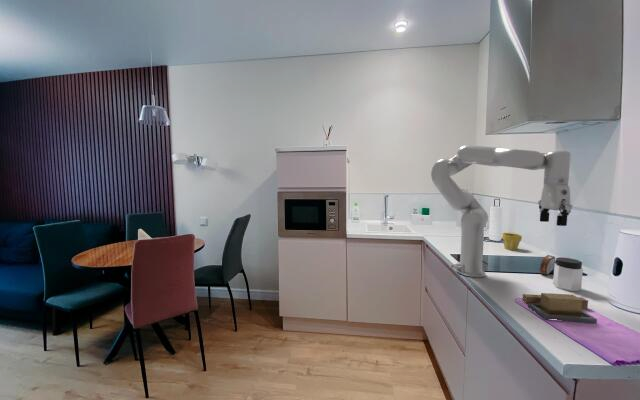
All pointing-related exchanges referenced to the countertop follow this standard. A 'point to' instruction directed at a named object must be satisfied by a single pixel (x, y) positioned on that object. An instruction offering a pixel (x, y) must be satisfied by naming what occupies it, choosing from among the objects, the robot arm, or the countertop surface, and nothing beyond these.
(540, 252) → the countertop surface
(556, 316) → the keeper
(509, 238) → the plant pot
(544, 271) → the tin
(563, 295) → the bar
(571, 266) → the jar
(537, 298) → the door edge strip
